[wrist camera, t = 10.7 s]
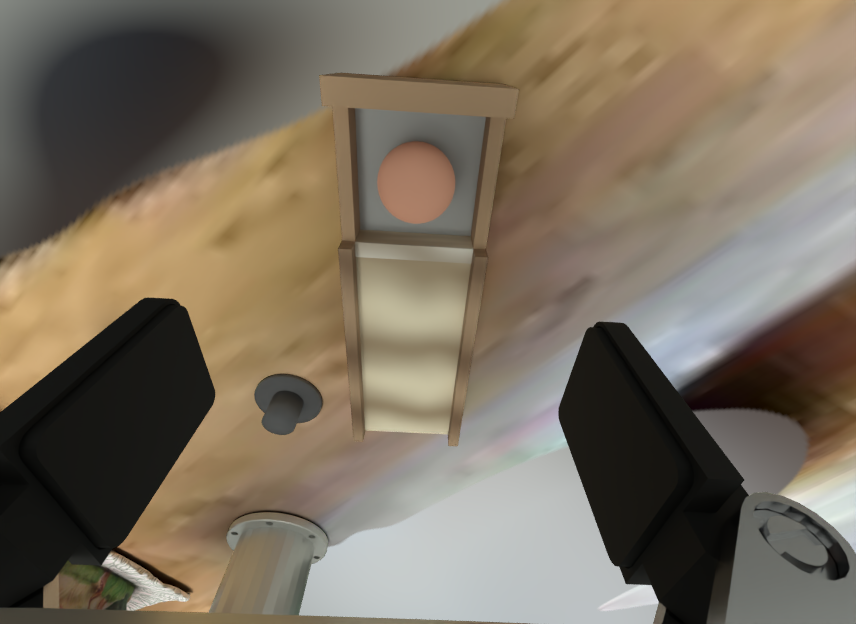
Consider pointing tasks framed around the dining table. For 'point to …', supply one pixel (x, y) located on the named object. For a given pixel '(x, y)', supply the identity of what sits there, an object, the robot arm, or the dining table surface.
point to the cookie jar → (113, 586)
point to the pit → (426, 122)
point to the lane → (410, 329)
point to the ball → (416, 182)
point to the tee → (286, 402)
